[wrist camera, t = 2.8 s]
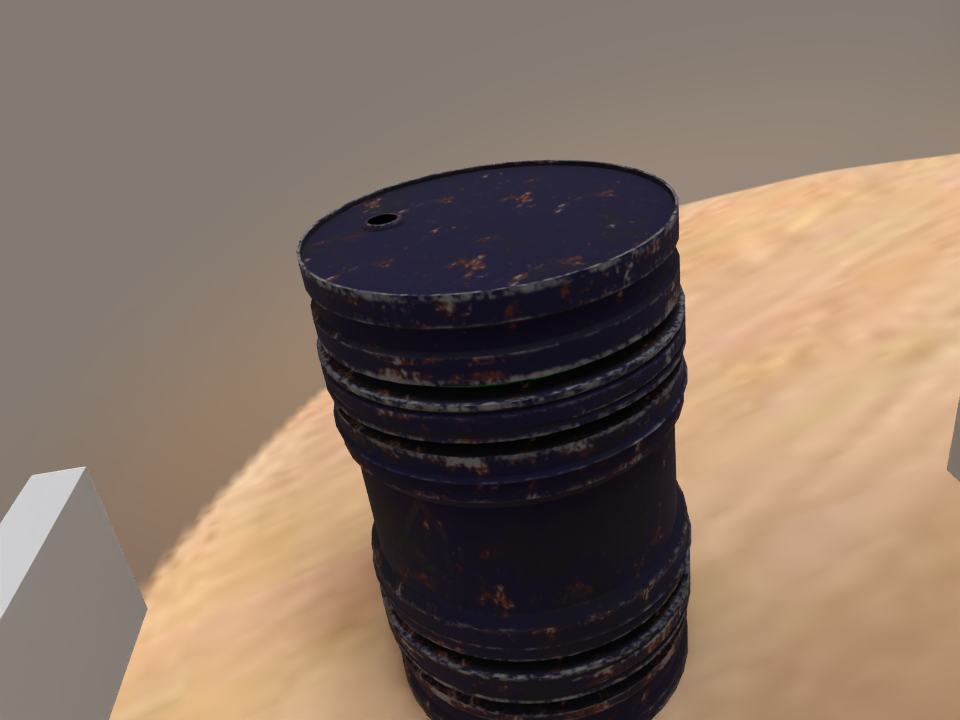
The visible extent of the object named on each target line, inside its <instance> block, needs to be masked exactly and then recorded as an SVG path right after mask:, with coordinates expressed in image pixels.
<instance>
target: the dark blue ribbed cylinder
mask: <svg viewBox="0 0 960 720" xmlns="http://www.w3.org/2000/svg"><path fill="white" fill-rule="evenodd" d="M678 239H679V207H678V197H677V195H676V193H675V191H674V189H673V188H672V187H671V186H670V185H669V184H667V183H666V182H665V181H664V180H662V179H660V178H658V177H656V176H654V175H653V174H649V173H647V172H644V171H641V170H638V169H635V168H631V167H626V166H621V165H617V164H610V163H603V162H593V161H592V162H591V161H579V160H539V161H538V160H535V161H519V162H506V163H497V164H489V165H481V166H475V167H469V168H462V169H456V170H452V171H447V172H442V173H437V174H433V175H429V176H425V177H421V178H417V179H413V180H409V181H406V182H402V183H399V184H396V185H393V186H389V187H386V188H383V189H381V190H378V191H375V192H373V193H370V194H367V195H365V196H363V197H360V198H358V199H356V200H353V201H351V202H349V203H347V204H345V205H343V206H341V207H339V208H338V209H336V210H334V211H332V212H330V213H329V214H327V215H326V216H324V217H323V218H322V219H320V220H319V221H317V222H316V223H315V224H314V225H313V226H312V227H311V228H310V229H308V230H307V232H306V233H305V234H304V236H303V237H302V238H301V240H300V241H299V245H298V248H297V257H298V262H299V266H300V270H301V274H302V278H303V282H304V285H305V289H306V291H307V292H308V294H309V295H310V297H311V298H312V301H311V310H312V315H313V320H314V324H315V327H316V331H317V335H318V340H317V349H318V355H319V360H320V362H321V366H322V370H323V374H324V378H325V381H326V386H327V390H328V392H329V393H330V395H331V397H332V399H333V400H334V417H335V422H336V427H337V428H338V430H339V432H340V434H341V436H342V437H343V439H344V442H345V445H346V447H347V449H348V450H349V452H350V454H351V456H352V458H353V459H354V460H355V461H356V462H357V463H358V464H359V465H360V466H361V470H362V474H363V478H364V482H365V485H366V489H367V493H368V497H369V501H370V505H371V509H372V513H373V517H374V523H373V527H372V549H373V563H374V567H375V571H376V575H377V578H378V580H379V582H380V588H381V592H382V597H383V602H384V606H385V609H386V613H387V617H388V620H389V625H390V628H391V630H392V632H393V634H394V636H395V639H396V641H397V643H398V645H399V648H400V650H401V652H402V657H403V662H404V666H405V671H406V675H407V678H408V682H409V685H410V687H411V689H412V691H413V694H414V696H415V698H416V700H417V702H418V703H419V704H420V706H421V707H422V709H423V710H424V711H425V713H426V714H427V716H428V717H429V718H430V719H431V720H651V719H652V718H653V717H654V716H655V715H656V714H657V713H658V712H659V711H660V710H661V709H662V708H663V707H664V706H665V704H666V703H667V701H668V700H669V698H670V697H671V695H672V694H673V692H674V691H675V690H676V688H677V685H678V683H679V681H680V678H681V676H682V673H683V671H684V667H685V662H686V657H687V652H688V636H687V619H686V616H687V606H688V601H689V596H690V545H691V523H690V520H689V516H688V512H687V506H686V502H685V498H684V494H683V491H682V490H681V488H680V486H679V484H678V482H677V480H676V454H675V423H676V421H677V420H678V418H679V416H680V413H681V409H682V406H683V403H684V391H685V388H686V385H687V365H686V362H685V359H684V356H683V350H684V347H685V344H686V327H685V295H684V292H683V290H682V287H681V285H680V255H679V253H678V250H677V248H676V244H677V242H678Z"/></svg>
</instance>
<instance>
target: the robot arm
mask: <svg viewBox="0 0 960 720" xmlns="http://www.w3.org/2000/svg"><path fill="white" fill-rule="evenodd" d="M947 470H948V471H949V472H950V473H951V474H952V475H953V476H954V477H955V478H956V479H957V480H958V481H959V482H960V398H959V404H958V409H957V415H956V421H955V426H954V432H953V438H952V443H951V449H950V454H949V460H948V466H947ZM146 611H147V606H146V604H145V602H144V599H143V597H142V595H141V592H140V590H139V588H138V585H137V583H136V581H135V578H134V576H133V574H132V572H131V569H130V567H129V564H128V562H127V560H126V557H125V555H124V553H123V551H122V548H121V546H120V544H119V541H118V539H117V537H116V534H115V532H114V530H113V527H112V525H111V523H110V521H109V518H108V516H107V513H106V511H105V509H104V506H103V504H102V502H101V499H100V497H99V495H98V493H97V490H96V488H95V486H94V483H93V481H92V479H91V476H90V474H89V472H88V469H87V467H86V466H85V467H79V468H73V469H67V470H61V471H55V472H49V473H43V474H37V475H32V476H31V478H30V479H29V480H28V482H27V484H26V485H25V487H24V488H23V490H22V491H21V493H20V494H19V496H18V497H17V499H16V501H15V502H14V503H13V505H12V507H11V508H10V510H9V511H8V513H7V514H6V516H5V517H4V519H3V521H2V522H1V523H0V720H109V717H110V715H111V712H112V709H113V706H114V703H115V700H116V697H117V695H118V692H119V689H120V686H121V683H122V680H123V677H124V674H125V672H126V669H127V666H128V663H129V660H130V657H131V654H132V651H133V649H134V646H135V643H136V640H137V637H138V634H139V631H140V628H141V626H142V623H143V620H144V617H145V614H146Z"/></svg>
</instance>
